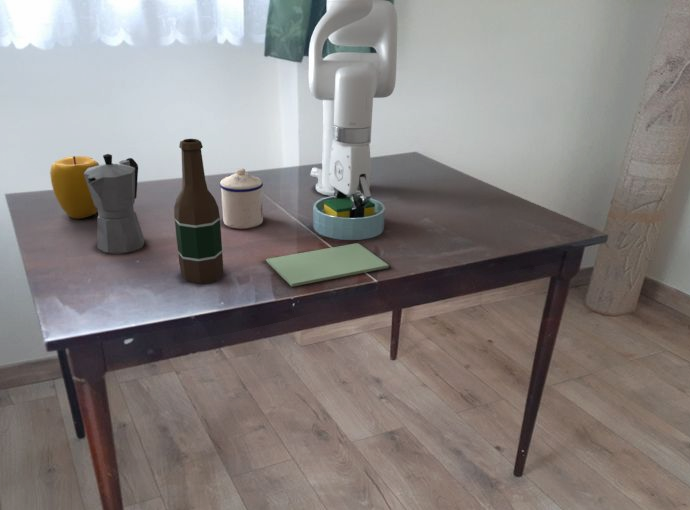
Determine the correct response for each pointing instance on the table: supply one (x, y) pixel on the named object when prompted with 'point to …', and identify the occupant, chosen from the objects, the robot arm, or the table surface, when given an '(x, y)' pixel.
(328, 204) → the sponge
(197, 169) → the beer bottle
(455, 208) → the table surface
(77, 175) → the apple
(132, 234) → the coffeepot
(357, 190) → the robot arm
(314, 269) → the mat
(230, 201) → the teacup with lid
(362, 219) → the bowl
